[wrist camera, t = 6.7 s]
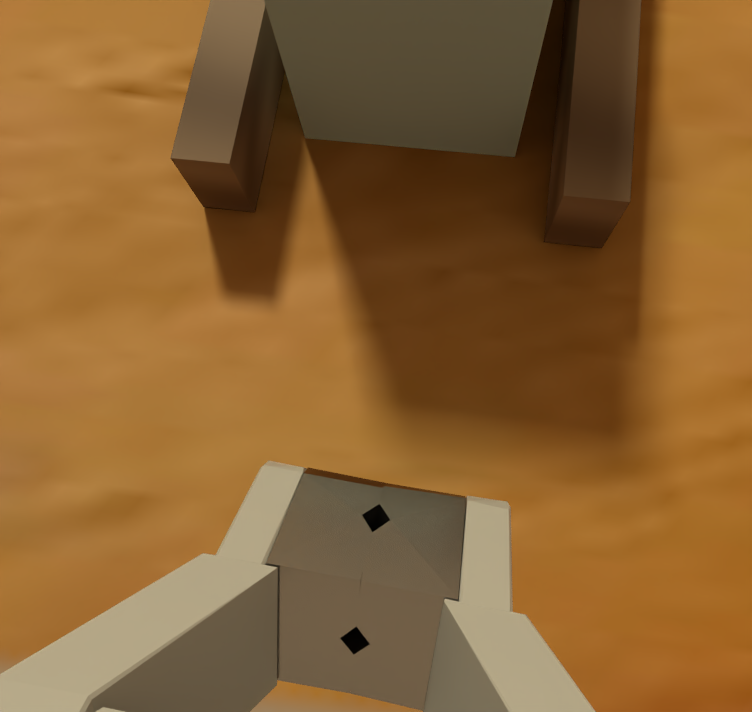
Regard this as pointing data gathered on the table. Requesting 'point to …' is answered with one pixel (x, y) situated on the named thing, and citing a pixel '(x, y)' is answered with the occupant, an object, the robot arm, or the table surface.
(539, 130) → the table surface
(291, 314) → the table surface
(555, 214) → the chute
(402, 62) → the block
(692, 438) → the table surface
